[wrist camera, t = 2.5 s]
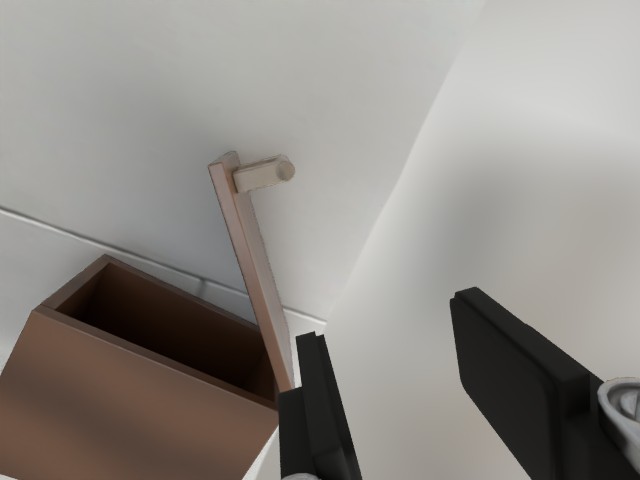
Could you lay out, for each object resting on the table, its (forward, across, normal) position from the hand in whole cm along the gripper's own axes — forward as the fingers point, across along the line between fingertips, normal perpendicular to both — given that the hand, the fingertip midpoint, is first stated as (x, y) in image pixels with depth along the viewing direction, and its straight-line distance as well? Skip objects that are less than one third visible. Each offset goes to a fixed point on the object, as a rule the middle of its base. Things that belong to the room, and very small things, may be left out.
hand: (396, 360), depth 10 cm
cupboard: (+21, +15, +9) cm, 27 cm away
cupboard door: (+21, +3, +2) cm, 21 cm away
